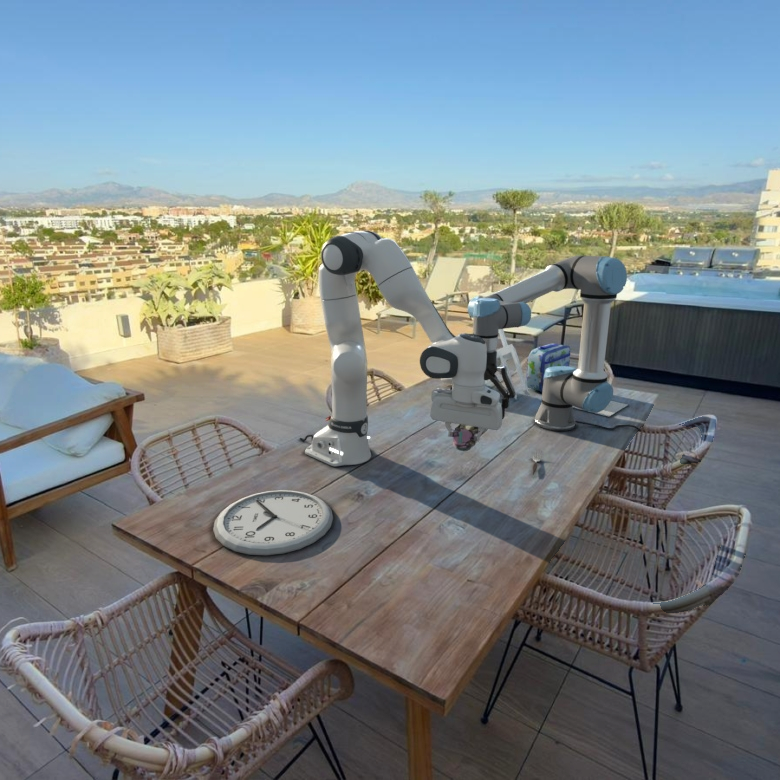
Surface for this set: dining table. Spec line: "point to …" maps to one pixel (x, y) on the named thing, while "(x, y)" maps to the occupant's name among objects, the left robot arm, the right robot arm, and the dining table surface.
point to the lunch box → (545, 363)
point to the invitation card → (610, 408)
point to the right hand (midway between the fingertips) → (481, 415)
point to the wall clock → (273, 522)
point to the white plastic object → (505, 363)
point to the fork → (536, 461)
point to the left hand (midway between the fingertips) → (463, 438)
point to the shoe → (465, 437)
